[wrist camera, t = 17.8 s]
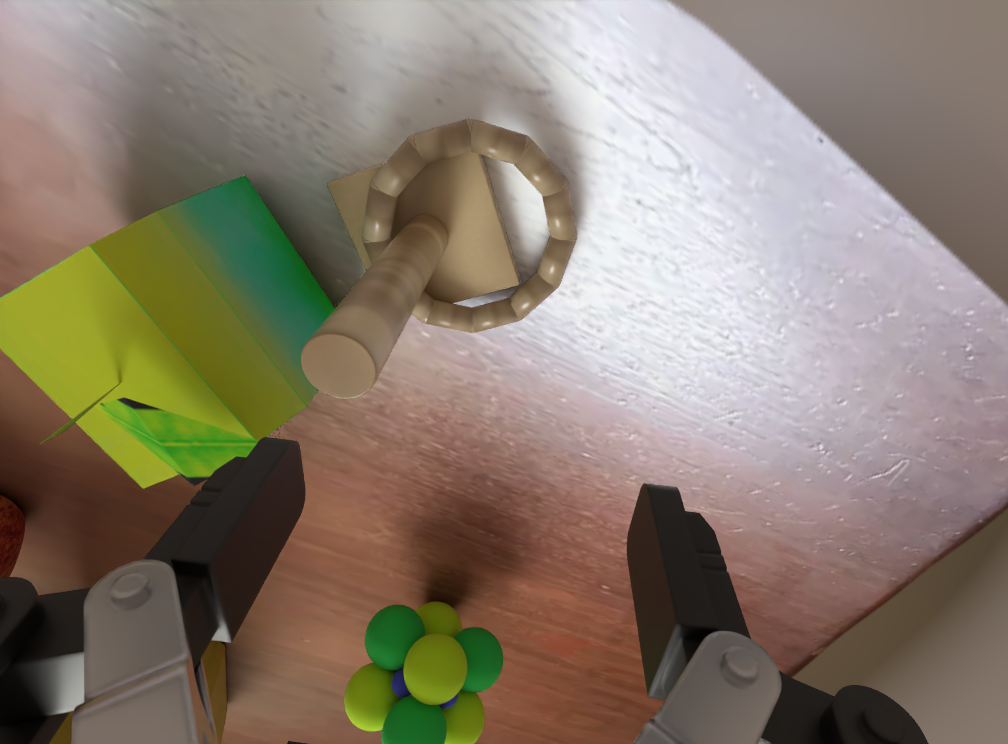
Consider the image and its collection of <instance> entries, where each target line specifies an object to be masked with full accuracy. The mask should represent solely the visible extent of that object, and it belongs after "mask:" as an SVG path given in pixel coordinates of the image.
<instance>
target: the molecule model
mask: <svg viewBox="0 0 1008 744" xmlns="http://www.w3.org/2000/svg"><path fill="white" fill-rule="evenodd" d="M365 646H366V650H367V653H368V655H369V657H370V659H371V660H372V661H373V662H374V663H370V664H367V665H365V666H363V667H362V668H360V669H359V670H358V671H357V672H356V673H355V674H354V675H353V676H352V678H351V679H350V681H349V683H348V685H347V688H346V692H345V699H344V703H345V709H346V713H347V715H348V717H349V719H350V720H351V722H352V723H353V724H354V725H355V726H357V727H358V728H360V729H362V730H365V731H378V730H381V729H382V743H383V744H474V743H475V742H476V741H477V739H478V738H479V736H480V734H481V732H482V729H483V726H484V717H485V716H484V708H483V704H482V702H481V699H480V698H479V696H478V695H477V692H481V691H484V690H486V689H488V688H489V687H491V686H492V685H493V684H494V683H495V681H496V680H497V679H498V677H499V675H500V673H501V670H502V666H503V653H502V649H501V646H500V644H499V642H498V640H497V639H496V637H495V636H494V635H493V634H492V633H490V632H489V631H487V630H485V629H483V628H478V627H472V628H467V629H464V630H462V625H461V621H460V618H459V616H458V614H457V612H456V611H455V610H454V609H453V608H452V607H451V606H449V605H448V604H446V603H443V602H436V601H435V602H429V603H426V604H424V605H422V606H421V607H419V608H418V609H417V610H416V611H414V610H413V609H411V608H409V607H407V606H403V605H392V606H388V607H386V608H384V609H382V610H380V611H379V612H378V613H377V614H376V615H375V616H374V617H373V618H372V620H371V621H370V623H369V625H368V627H367V630H366V635H365Z"/></svg>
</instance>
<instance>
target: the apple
mask: <svg viewBox="0 0 1008 744" xmlns="http://www.w3.org/2000/svg"><path fill="white" fill-rule="evenodd" d="M24 531H25V519H24V515H23V513H22V512H21V510H20V509H19V508H18V507H17V506H16V505H15V504H14V503H13V502H12V501H11V500H9V499H8V498H6V497H4V496H2V495H0V578H5V577H9V576H10V575H11V573H12V571H13V568H14V566H15V564H16V561H17V558H18V555H19V552H20V549H21V546H22V542H23V537H24Z"/></svg>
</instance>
